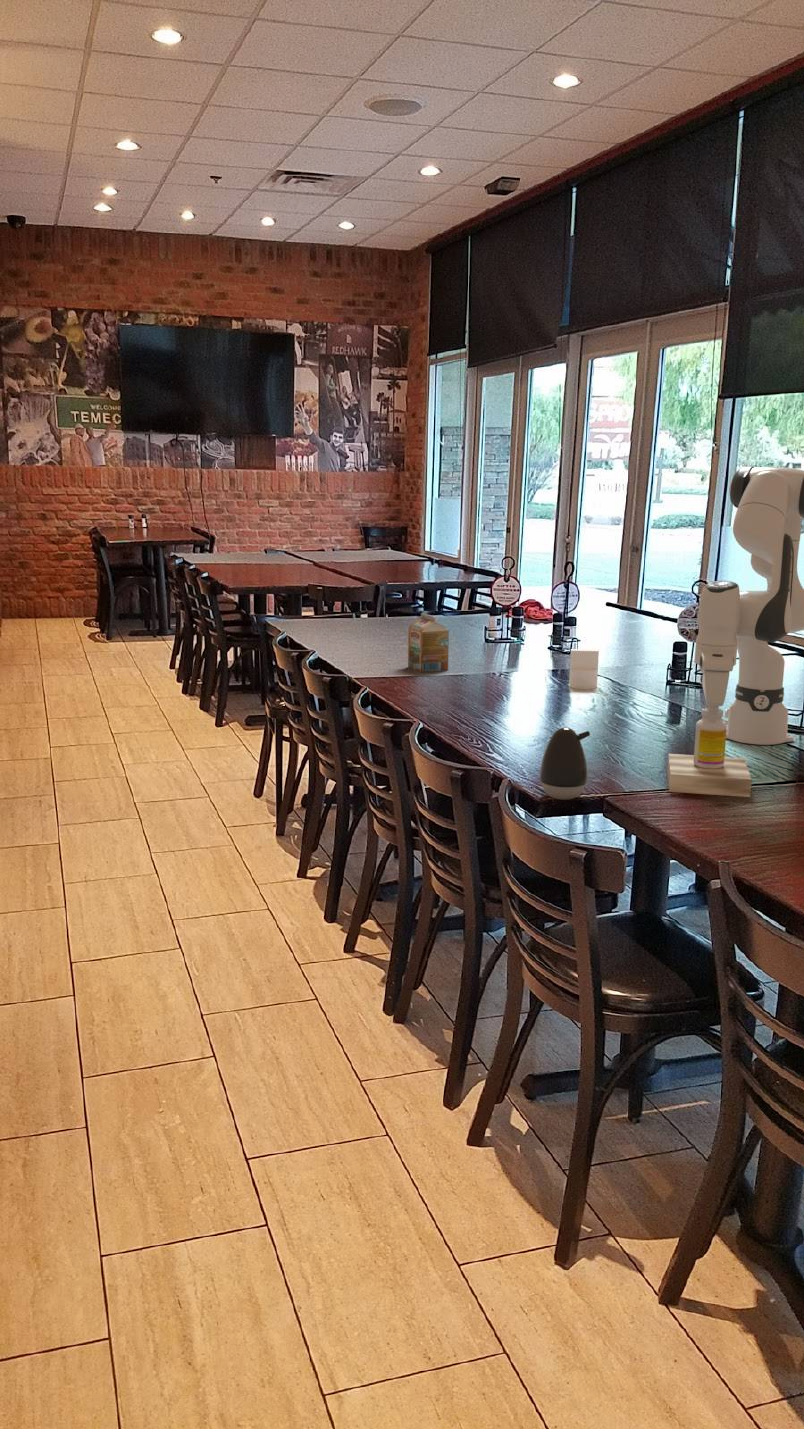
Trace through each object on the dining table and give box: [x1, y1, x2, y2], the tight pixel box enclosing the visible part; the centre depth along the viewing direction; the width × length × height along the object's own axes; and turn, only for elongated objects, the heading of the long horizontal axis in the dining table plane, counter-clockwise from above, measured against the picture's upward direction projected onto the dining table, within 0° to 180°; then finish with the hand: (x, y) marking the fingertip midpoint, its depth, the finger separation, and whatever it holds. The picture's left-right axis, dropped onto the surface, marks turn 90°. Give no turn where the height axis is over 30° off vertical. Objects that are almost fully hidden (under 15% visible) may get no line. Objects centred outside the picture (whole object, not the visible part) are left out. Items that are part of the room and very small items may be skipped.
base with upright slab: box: [568, 648, 600, 690], centre depth 353 cm, size 9×9×12 cm
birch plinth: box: [666, 753, 753, 798], centre depth 245 cm, size 18×17×4 cm
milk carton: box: [407, 613, 450, 673], centre depth 381 cm, size 11×11×19 cm
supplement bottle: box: [693, 707, 727, 769], centre depth 243 cm, size 7×7×13 cm
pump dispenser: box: [539, 727, 591, 801], centre depth 233 cm, size 10×10×15 cm
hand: (710, 716), depth 242 cm, fingers open, 8 cm apart
